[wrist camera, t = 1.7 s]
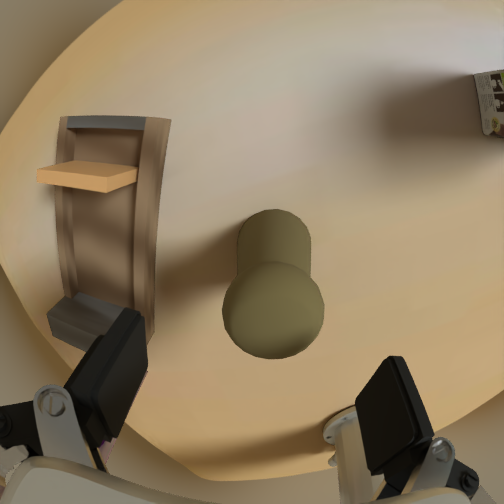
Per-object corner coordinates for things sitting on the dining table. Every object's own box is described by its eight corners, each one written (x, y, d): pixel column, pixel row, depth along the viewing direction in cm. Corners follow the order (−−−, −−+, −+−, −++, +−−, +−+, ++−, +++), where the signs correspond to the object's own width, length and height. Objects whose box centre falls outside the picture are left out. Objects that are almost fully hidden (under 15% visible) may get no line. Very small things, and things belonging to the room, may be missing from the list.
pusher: (140, 180, 20) (106, 192, 15) (74, 171, 20) (36, 182, 15) (142, 167, 19) (107, 177, 15) (75, 160, 19) (36, 169, 15)
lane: (154, 331, 27) (132, 370, 22) (80, 306, 27) (52, 336, 22) (171, 119, 19) (135, 114, 13) (77, 116, 19) (32, 117, 13)
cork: (227, 262, 23) (194, 353, 13) (253, 197, 21) (232, 254, 11) (292, 287, 24) (300, 386, 14) (323, 226, 21) (362, 303, 11)
